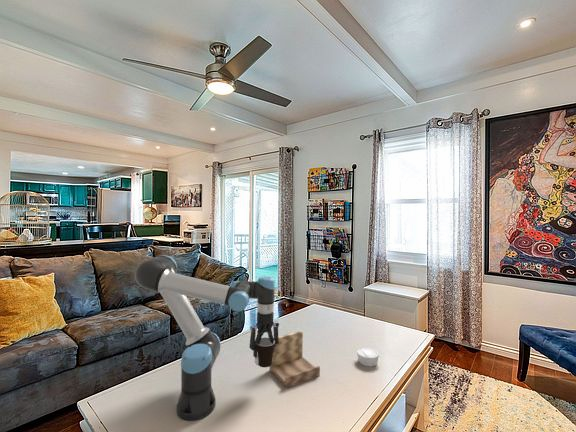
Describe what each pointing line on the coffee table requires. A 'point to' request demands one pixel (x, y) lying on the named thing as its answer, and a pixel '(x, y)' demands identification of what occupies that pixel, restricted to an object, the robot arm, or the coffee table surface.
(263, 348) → the coffee mug
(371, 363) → the ramekin
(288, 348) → the light brown blocky piece
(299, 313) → the coffee table surface
